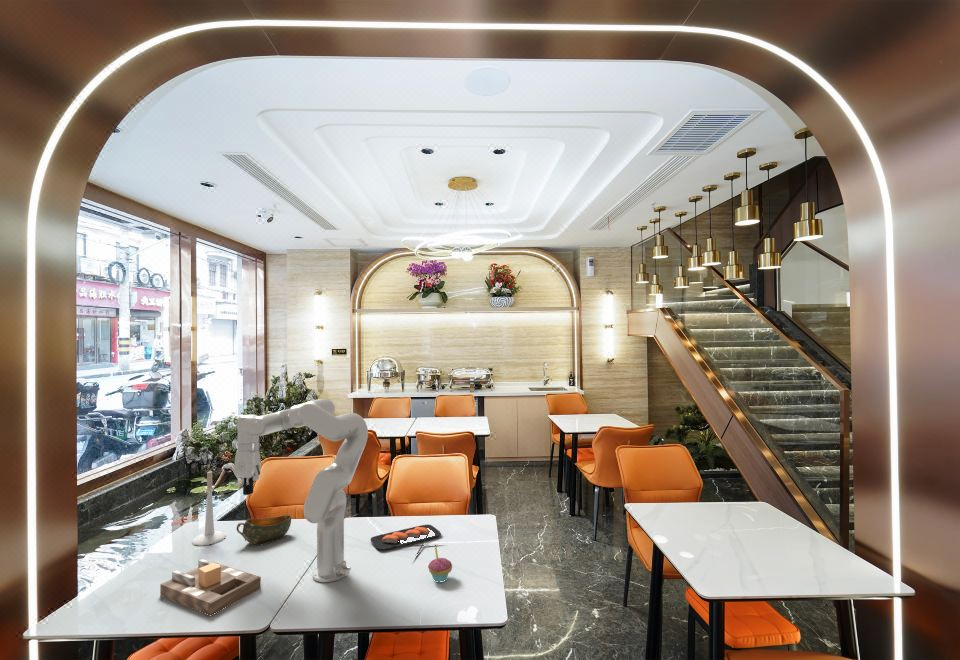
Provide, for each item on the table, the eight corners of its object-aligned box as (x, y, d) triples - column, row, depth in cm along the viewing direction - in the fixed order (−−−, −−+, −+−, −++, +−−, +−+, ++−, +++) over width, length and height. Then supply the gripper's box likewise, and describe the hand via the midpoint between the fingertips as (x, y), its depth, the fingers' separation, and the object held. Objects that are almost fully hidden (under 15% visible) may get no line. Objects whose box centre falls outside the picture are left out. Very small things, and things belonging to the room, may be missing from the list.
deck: (260, 588, 160) (260, 569, 160) (210, 616, 144) (210, 595, 144) (211, 572, 172) (211, 554, 172) (160, 596, 156) (160, 576, 156)
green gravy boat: (245, 535, 204) (245, 513, 204) (292, 532, 208) (292, 510, 208) (234, 548, 191) (235, 524, 192) (285, 545, 195) (285, 521, 195)
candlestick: (206, 532, 208) (207, 466, 209) (232, 534, 206) (232, 467, 207) (184, 545, 195) (185, 474, 196) (212, 546, 194) (212, 475, 194)
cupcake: (424, 583, 162) (424, 549, 162) (434, 572, 170) (434, 539, 170) (446, 587, 159) (446, 552, 159) (456, 575, 167) (455, 542, 167)
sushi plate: (429, 527, 213) (429, 519, 213) (460, 552, 187) (460, 542, 187) (368, 541, 198) (368, 533, 198) (392, 571, 172) (392, 560, 172)
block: (220, 581, 157) (220, 566, 157) (205, 587, 153) (205, 572, 153) (213, 577, 160) (213, 562, 160) (198, 583, 156) (198, 568, 156)
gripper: (226, 447, 179) (226, 494, 178) (252, 450, 172) (252, 499, 172) (244, 443, 186) (244, 488, 185) (269, 446, 179) (269, 493, 178)
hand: (248, 493), depth 178 cm, fingers closed
